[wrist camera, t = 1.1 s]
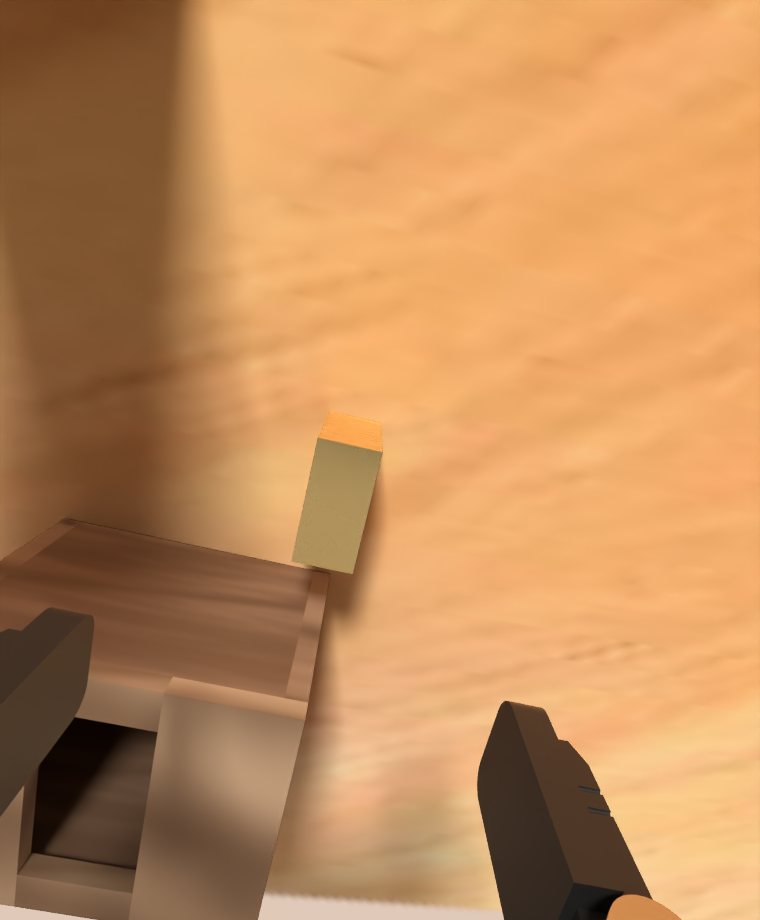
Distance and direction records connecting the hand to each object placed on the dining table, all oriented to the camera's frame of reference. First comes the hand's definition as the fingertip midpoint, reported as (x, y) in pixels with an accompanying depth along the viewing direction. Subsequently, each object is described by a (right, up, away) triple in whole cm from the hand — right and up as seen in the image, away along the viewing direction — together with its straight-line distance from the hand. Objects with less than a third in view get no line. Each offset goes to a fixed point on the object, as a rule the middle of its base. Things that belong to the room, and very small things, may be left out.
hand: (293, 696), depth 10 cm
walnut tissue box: (-8, -4, +17) cm, 20 cm away
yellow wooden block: (0, +4, +15) cm, 16 cm away
